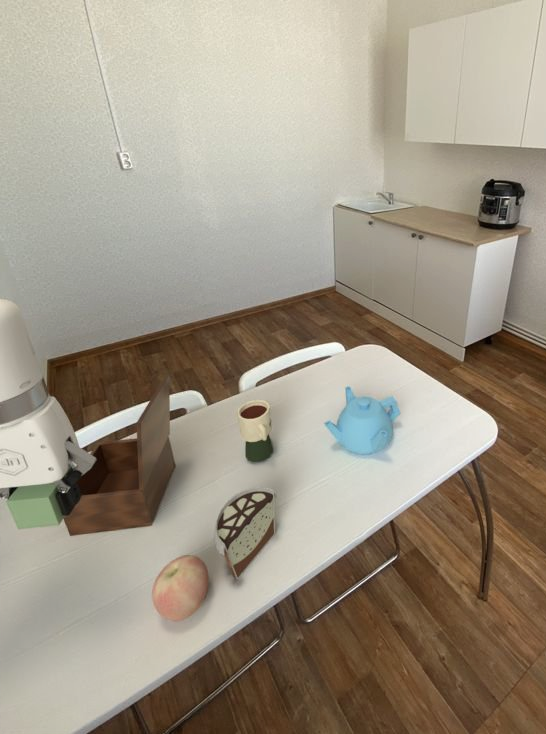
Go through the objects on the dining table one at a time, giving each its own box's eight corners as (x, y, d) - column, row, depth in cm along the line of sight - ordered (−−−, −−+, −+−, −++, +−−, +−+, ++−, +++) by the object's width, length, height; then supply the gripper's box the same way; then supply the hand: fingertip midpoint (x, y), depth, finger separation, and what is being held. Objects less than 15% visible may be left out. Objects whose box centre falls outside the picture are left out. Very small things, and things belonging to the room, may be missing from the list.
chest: (69, 536, 72) (56, 501, 69) (107, 473, 86) (97, 442, 83) (151, 526, 74) (141, 492, 71) (175, 465, 87) (168, 435, 84)
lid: (136, 422, 65) (140, 422, 66) (166, 373, 79) (169, 374, 79) (139, 490, 70) (143, 490, 71) (166, 433, 84) (169, 433, 84)
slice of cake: (257, 512, 76) (251, 474, 72) (280, 527, 73) (276, 488, 70) (205, 569, 66) (196, 528, 63) (230, 589, 63) (221, 547, 60)
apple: (202, 567, 66) (195, 535, 64) (219, 605, 61) (212, 572, 58) (153, 602, 61) (142, 568, 59) (166, 646, 56) (155, 612, 53)
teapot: (385, 469, 85) (386, 430, 82) (324, 453, 90) (321, 415, 86) (401, 423, 99) (402, 388, 95) (347, 411, 104) (346, 378, 100)
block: (18, 529, 50) (5, 501, 48) (42, 496, 55) (32, 469, 53) (59, 525, 51) (48, 497, 49) (80, 492, 55) (71, 466, 54)
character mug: (283, 461, 88) (278, 415, 83) (254, 477, 84) (247, 430, 79) (264, 434, 96) (259, 391, 92) (236, 447, 92) (229, 403, 88)
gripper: (-103, 427, 42) (-42, 543, 48) (65, 414, 44) (102, 527, 50) (-44, 385, 49) (2, 491, 55) (99, 376, 51) (127, 479, 57)
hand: (49, 507), depth 53 cm, fingers closed on block, 5 cm apart
